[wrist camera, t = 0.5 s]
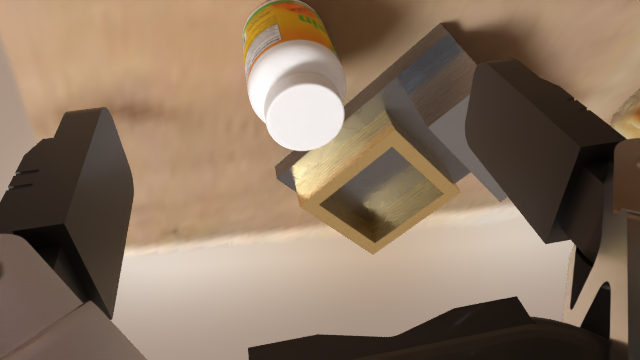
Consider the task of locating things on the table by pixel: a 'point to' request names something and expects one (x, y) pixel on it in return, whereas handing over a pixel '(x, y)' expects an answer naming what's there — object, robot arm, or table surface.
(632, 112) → the pastry
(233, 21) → the table surface
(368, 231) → the grey and tan tray
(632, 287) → the robot arm
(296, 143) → the supplement bottle
